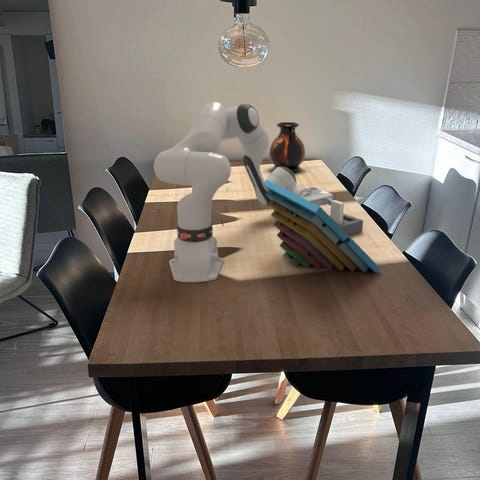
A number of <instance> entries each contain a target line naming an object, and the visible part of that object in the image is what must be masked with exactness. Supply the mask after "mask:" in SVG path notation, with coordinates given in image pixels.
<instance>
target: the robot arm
mask: <svg viewBox="0 0 480 480" xmlns="http://www.w3.org/2000/svg"><path fill="white" fill-rule="evenodd" d="M236 138H237V139H238V141H239V142H240V145H241V146H242V153H243V157H242V163H243V165H244V168H245V170H246V173H247V176H248V177H249V179H250V182H251V184H252V187H253V189H254V192H255V196H256V198H257V201H259V202H260V204H261V205H263V206H266V207H267V206H268V207H269V205H268V204H269V203H270V202H271V199H270V198H269V197H268V196H267V195H266V193H267V192H268V191H269V190H268V189H267V188H266V187H265V186H264V185H263V183H264V182H265V181H266V180H268V181H270V182H272V183H274V184H276V185H278V186H280V187H282V188H284V189H286V190H288V191H290V192H292V193H294V194H296V195H298V196H300V197H302V198H304V199H306V200H308V201H310V202H312V203H314V204H316V205H318V206H320V207H321V206H325V205H328V206H330V207H331V201H333V200H334V195H333V194H332V193H331V192H328V191H326V190H322V189H319V188H318V187H306V186H305V187H302V186H300V185H298V184H297V183H298V181H297V179H296V175H295V173H293V172H292V171H291V170H290V169H288V168H286V167H282V166H280V167H277V168H276V169H275V170H273V171H272V172H270V174H269V176H267V177H266V179H264V177H263V174H262V172H261V164H262V162H263V159H264V156H265V155H266V153H267V150H268V148H269V146H270V145H269V144H270V136H269V134H268V132H267V130H266V129H265V127H264V125H263V124H262V122H261V120H260V118H259V114H258V111H257V109H256V108H255V107H254V106H253V105H251V104H249V103H248V104H247V103H244V104H242V103H241V104H239V105H236V106H231V107H228V108H226V107H225V106H224V105H223V104H222V103H220V102H217V101H211V102H208V103H206V104H205V105H204V106H203V108H202V109H201V110H200V112H199V113H198V114H197V116H196V118H195V120H194V122H193V124H192V126H191V128H190V130H189V131H188V133H187V134H186V136H185V137H184V138H183V139H182V140H181V141H180V142H179V143H178V142H177V144H175V145H174V146H173V147H170V148H169V149H167V150H164V151H160V153H158V154H157V156H156V157H155V160H154V163H153V170H154V174H155V176H156V178H157V179H158V180H160V181H162V182H165V183H169V184H172V185H179V186H180V185H183V186H191V193H189V194H187V195H184V196H183V197H181V198H180V199H179V201H178V203H177V205H176V206H177V207H176V209H177V226H176V233H177V238H175V239H174V240H173V245H174V254H173V256H172V259H170V260H169V261H168V262H169V263H168V264H169V267H170V268H169V269H170V271H171V275H172V278H173V280H174V281H176V282H180V283H201V282H202V283H203V282H209V281H210V282H211V281H214V280H216V279H217V278H218V276H219V274H220V271H221V270H222V267H223V264H224V263H225V261H224V258H222V257H219V253H218V251H219V246H218V239H217V238H216V237H214V235H213V234H214V233H213V230H214V228H213V223H212V217H211V216H212V215H211V214H212V203H213V198H214V196H215V194H216V192H217V191H218V190H219V189H220V188H221V187H222V186H224V185H225V184H226V183H228V181H229V179H230V177H231V174H232V173H231V172H232V171H231V170H232V167H231V163H230V161H229V159H228V157H227V156H226V155H224V154H220V153H217V152H218V150H219V148H220V145H221V142H222V141H226V140H232V139H236Z"/></svg>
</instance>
